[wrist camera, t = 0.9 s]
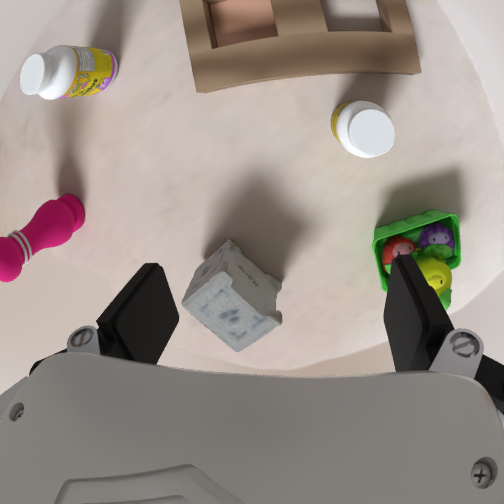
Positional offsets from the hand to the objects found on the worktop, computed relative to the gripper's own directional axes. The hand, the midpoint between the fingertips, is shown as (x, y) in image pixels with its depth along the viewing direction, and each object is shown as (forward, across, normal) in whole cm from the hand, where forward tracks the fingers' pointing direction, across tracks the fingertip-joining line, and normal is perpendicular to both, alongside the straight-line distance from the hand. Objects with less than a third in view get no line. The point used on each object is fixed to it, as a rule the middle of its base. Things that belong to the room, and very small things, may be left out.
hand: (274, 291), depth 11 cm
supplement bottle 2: (+24, -7, -5) cm, 26 cm away
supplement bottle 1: (+24, +23, -18) cm, 38 cm away
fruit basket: (+24, -15, +10) cm, 30 cm away
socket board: (+24, -3, -18) cm, 30 cm away
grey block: (+24, +8, +14) cm, 29 cm away
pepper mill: (+24, +36, +2) cm, 43 cm away
